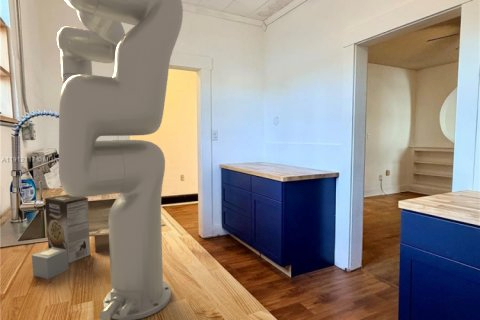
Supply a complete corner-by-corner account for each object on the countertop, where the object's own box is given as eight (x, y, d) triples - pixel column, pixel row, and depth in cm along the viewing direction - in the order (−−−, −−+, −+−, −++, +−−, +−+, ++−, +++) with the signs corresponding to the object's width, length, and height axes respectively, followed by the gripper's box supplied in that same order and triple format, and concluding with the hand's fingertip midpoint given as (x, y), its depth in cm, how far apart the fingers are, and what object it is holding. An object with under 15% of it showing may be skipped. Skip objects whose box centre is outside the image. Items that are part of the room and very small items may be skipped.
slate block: (48, 279, 64) (46, 258, 63) (33, 275, 65) (31, 254, 65) (68, 269, 68) (67, 249, 68) (54, 266, 70) (52, 246, 70)
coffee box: (47, 256, 75) (43, 197, 74) (71, 248, 81) (68, 193, 79) (67, 264, 71) (64, 201, 69) (91, 254, 77) (88, 196, 75)
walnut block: (114, 250, 79) (113, 233, 79) (95, 252, 78) (94, 234, 78) (117, 244, 84) (116, 227, 84) (99, 245, 83) (98, 228, 83)
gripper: (101, 80, 76) (105, 143, 77) (84, 89, 88) (87, 143, 90) (70, 76, 71) (74, 144, 72) (56, 86, 83) (59, 143, 85)
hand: (81, 143), depth 81 cm, fingers open, 9 cm apart
